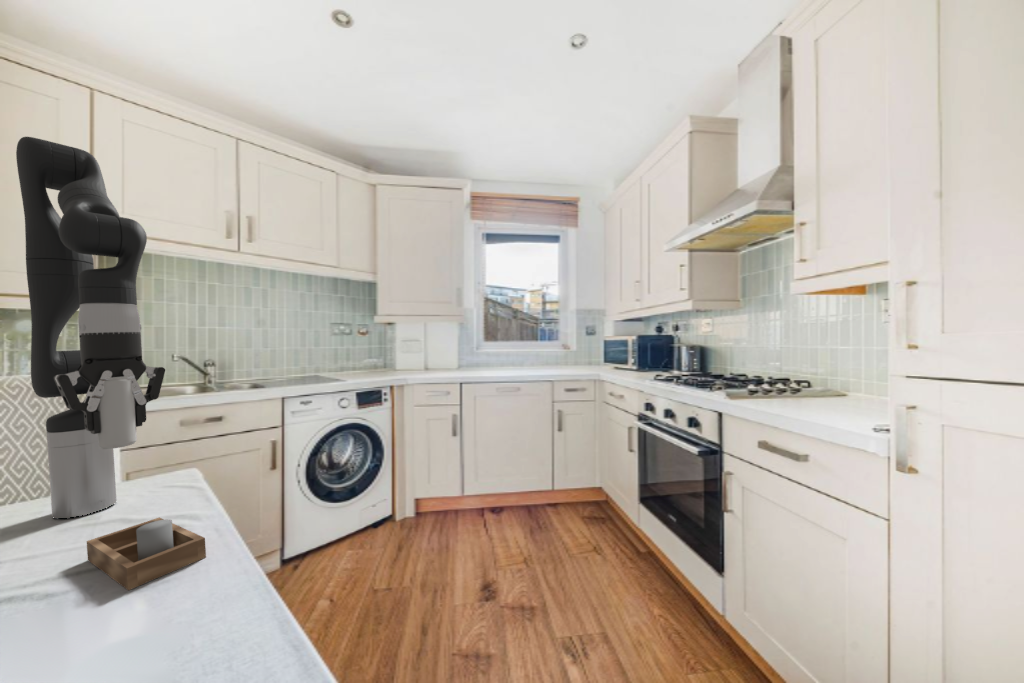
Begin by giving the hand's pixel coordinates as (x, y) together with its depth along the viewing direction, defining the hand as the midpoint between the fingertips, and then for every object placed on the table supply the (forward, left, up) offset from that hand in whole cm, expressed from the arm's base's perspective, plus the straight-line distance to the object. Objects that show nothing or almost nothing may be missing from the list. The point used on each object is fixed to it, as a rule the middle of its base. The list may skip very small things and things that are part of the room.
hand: (117, 429), depth 70 cm
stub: (+17, -1, -19) cm, 26 cm away
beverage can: (0, 0, -3) cm, 3 cm away
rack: (+13, -1, -19) cm, 23 cm away
